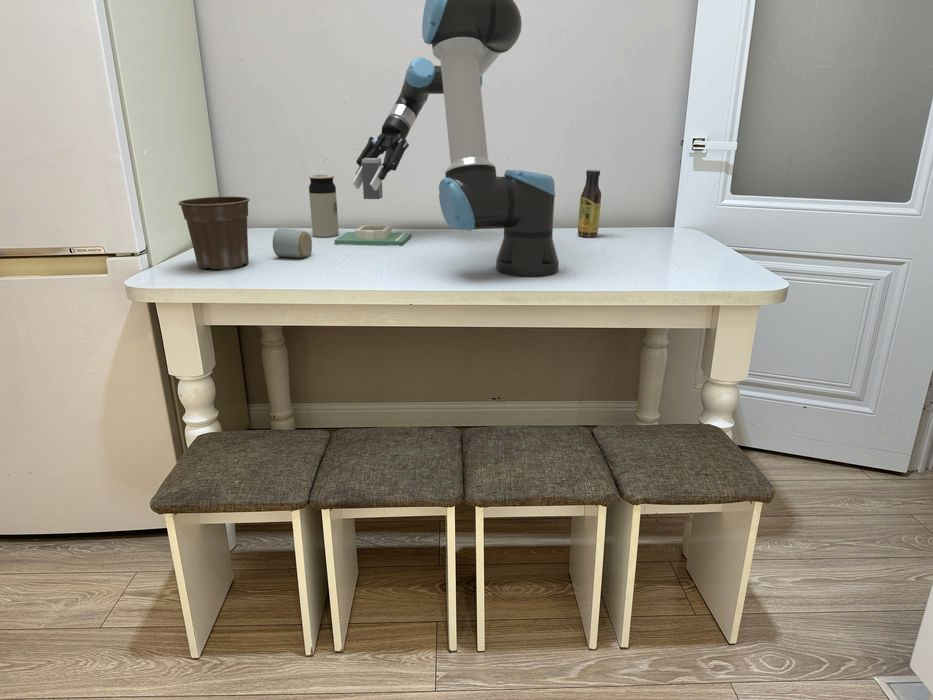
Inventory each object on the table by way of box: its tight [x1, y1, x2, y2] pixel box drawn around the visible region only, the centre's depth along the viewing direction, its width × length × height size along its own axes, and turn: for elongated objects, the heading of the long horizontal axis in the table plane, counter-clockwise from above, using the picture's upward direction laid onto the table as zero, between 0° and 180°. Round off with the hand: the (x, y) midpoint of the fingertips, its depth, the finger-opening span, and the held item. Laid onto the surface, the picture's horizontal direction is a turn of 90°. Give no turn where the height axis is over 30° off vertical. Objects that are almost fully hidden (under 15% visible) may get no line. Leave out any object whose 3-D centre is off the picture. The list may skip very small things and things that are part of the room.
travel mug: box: [308, 174, 340, 238], centre depth 198 cm, size 8×8×18 cm
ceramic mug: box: [272, 226, 313, 259], centre depth 172 cm, size 11×8×8 cm
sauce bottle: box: [577, 168, 602, 238], centre depth 196 cm, size 6×6×20 cm
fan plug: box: [362, 157, 383, 200], centre depth 186 cm, size 4×4×11 cm
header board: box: [333, 224, 412, 247], centre depth 192 cm, size 14×20×4 cm
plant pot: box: [178, 196, 250, 270], centre depth 159 cm, size 16×16×16 cm
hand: (364, 186), depth 184 cm, fingers closed on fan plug, 6 cm apart
